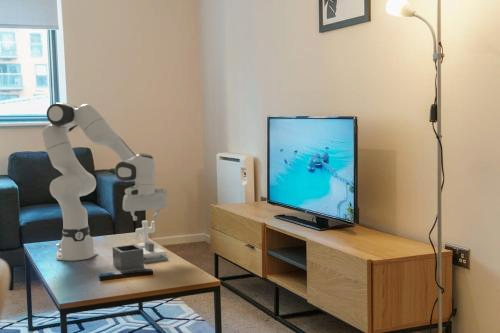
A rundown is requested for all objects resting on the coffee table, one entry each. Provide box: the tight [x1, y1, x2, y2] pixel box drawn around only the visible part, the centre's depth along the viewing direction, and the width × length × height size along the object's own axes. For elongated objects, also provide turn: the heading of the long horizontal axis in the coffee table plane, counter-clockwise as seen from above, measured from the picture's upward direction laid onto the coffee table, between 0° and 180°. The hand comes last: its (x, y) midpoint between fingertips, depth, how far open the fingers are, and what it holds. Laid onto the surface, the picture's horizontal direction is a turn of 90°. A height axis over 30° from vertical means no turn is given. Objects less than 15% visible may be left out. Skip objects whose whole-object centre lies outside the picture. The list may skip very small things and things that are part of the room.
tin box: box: [112, 243, 145, 272], centre depth 290 cm, size 12×10×8 cm
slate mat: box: [144, 254, 169, 264], centre depth 304 cm, size 14×12×1 cm
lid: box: [142, 241, 167, 259], centre depth 303 cm, size 13×11×6 cm
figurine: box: [134, 220, 156, 248], centre depth 317 cm, size 7×9×15 cm
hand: (145, 219), depth 303 cm, fingers open, 8 cm apart
